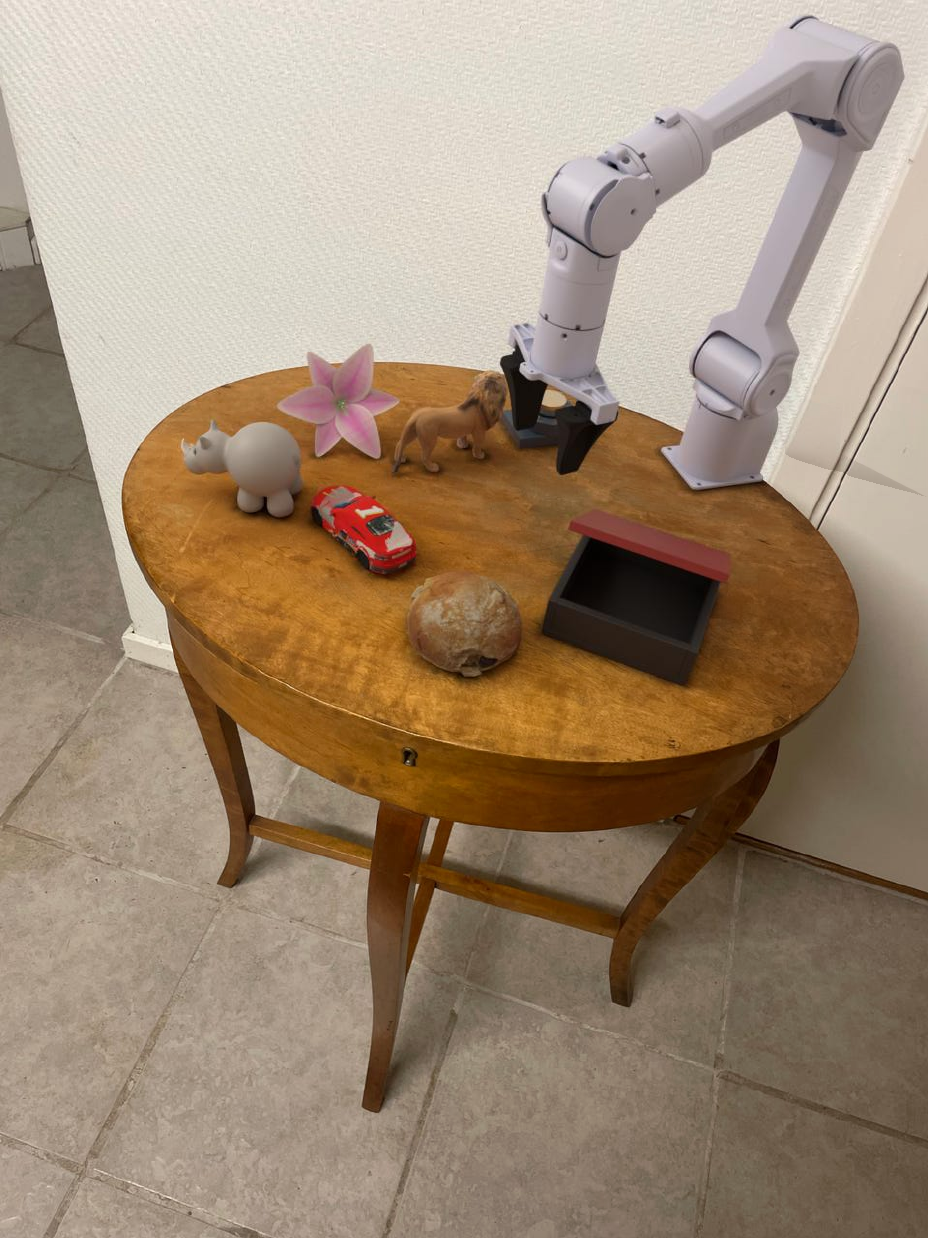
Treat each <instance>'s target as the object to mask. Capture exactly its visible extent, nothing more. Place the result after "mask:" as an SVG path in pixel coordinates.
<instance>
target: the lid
mask: <svg viewBox="0 0 928 1238" xmlns="http://www.w3.org/2000/svg"><path fill="white" fill-rule="evenodd" d="M567 530H568V531H571V532H574V533H577V534H580V535H581V536H582V535H585V536H588V537H591V538H594V539H597V540H600V541H603V542H606V543H609V544H612V545H614V546H617V547H620V548H623V549H626V550H629V551H632V552H635V553H638V554H641V555H644V556H647V557H650V558H653V559H655V560H658V561H661V562H664V563H667V564H670V565H673V566H676V567H679V568H682V569H685V570H688V571H691V572H693V573H696V574H699V575H702V576H705V577H708V578H711V579H714V580H717V581H720V582H721V583H723V584H728V582H729V579H730V576H731V553H729V552H725V551H723V550H720V549H717V548H713V547H711V546H709V545H708V546H707V545H705V544H702V543H698V542H695V541H693V540H689V539H687V538H683V537H681V536H678V535H675V534H672V533H669V532H666V531H663V530H660V529H657V528H655V527H654V528H653V527H651V526H648V525H646V524H643V523H639V522H636V521H633V520H630V519H628V518H627V519H626V518H624V517H621V516H618V515H615V514H613V513H609V512H606V511H603V510H600V509H597V508H593V509H591V510H589V511H588V512H586V513H583V514H582V515H579V516H577V517H576V518H574V519H571V520H570V521H569V525H568V527H567Z"/></svg>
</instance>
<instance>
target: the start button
mask: <svg viewBox="0 0 928 1238" xmlns="http://www.w3.org/2000/svg"><path fill="white" fill-rule="evenodd" d="M567 400H568V399H567V397H566V396H565V395H564V394H563V393H561V392H560V391H557V390H553V389H546V391H545V394H544V397H543V401H542V405H541V409H540V413H539V416H541V417H544V418H549V419H556V416H555V410H556V409H560V408H564V407H565V406H566V401H567Z"/></svg>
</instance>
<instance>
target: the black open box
mask: <svg viewBox="0 0 928 1238" xmlns="http://www.w3.org/2000/svg"><path fill="white" fill-rule="evenodd" d="M721 583H722V582H720V581H717V580H714V579H711V578H708V577H705V576H702V575H699V574H696V573H693V572H691V571H688V570H685V569H682V568H679V567H676V566H673V565H670V564H667V563H664V562H661V561H658V560H655V559H653V558H650V557H647V556H644V555H641V554H638V553H635V552H632V551H629V550H626V549H623V548H620V547H617V546H614V545H612V544H609V543H606V542H603V541H600V540H597V539H594V538H591V537H588V536H585V535H582V534H581V537H580V539H579V541H578V543H577V545H576V546H575V548H574V551H573V552H572V554H571V556H570V558H569V559H568V562H567V564H566V566H565V568H564V569H563V571H562V573H561V575H560V577H559V579H558V581H557V583H556V585H555V587H554V589H553V591H552V592H551V594H550V596H549V598H548V600H547V604H546V609H545V613H544V616H543V617H544V618H543V622H542V625H541V630H540V634H541V635H544V636H547V637H550V638H552V639H554V640H558V641H560V642H563V643H565V644H568V645H571V646H574V647H577V648H579V649H582V650H585V651H587V652H590V653H592V654H596V655H599V656H601V657H604V658H607V659H609V660H611V661H615V662H617V663H620V664H623V665H626V666H628V667H631V668H634V669H636V670H639V671H642V672H644V673H647V674H650V675H652V676H656V677H657V678H661V679H663V680H666V681H669V682H671V683H674V684H677V685H679V686H682V687H685V685H686V683H687V680H688V678H689V676H690V674H691V670H692V668H693V666H694V665H695V664H694V663H695V661H696V659H697V657H698V655H699V651H700V648H701V645H702V641H703V639H704V636H705V632H706V629H707V626H708V622H709V620H710V618H711V614H712V611H713V607H714V605H715V602H716V598H717V595H718V592H719V589H720V586H721Z"/></svg>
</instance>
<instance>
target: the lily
mask: <svg viewBox="0 0 928 1238" xmlns="http://www.w3.org/2000/svg"><path fill="white" fill-rule="evenodd" d="M306 361H307V367H308V371H309V376H310V379H311V382H312V385H310V386H309V385H308V386H307V387H304V388H302V389H300V390H298V391H296V392H294V393H292V394H291V395H288V396H287V397H285V398H282V399H281V400H280V401H279V402H278V403H277V405H276V408H277V409H278V411H281V412H282V413H284V414H287V415H289V416H290V417H294V418H296V419H298V420H302V421H305V422H306V423H307V422H308V423H311V424H316V425H315V433H314V453H315V456H316V458H320V457H322V456H323V455H325V454H326V453H327V452H328V451H330V450H331V449H332V448H333V447H334V446H336V444H338V443H339V441H340V440H341V439H342V438H343V439H344V440H345V441H347V443H349V444H351V445H352V446H353V447H355V448H356V449H358V450H360V451H361V452H362V453H364V454H366V455H367V456H369V457H371V458H373V459H380V457H381V454H382V452H381V451H382V449H381V441H380V436H379V431H378V427H377V422H376V420H375V417H376V416H378V415H380V414H383V413H385V412H386V411H389V410H391V409H392V408H394V407H395V406H397V405H398V404H399V403H400V401H401V400H400V398H398V397H397V396H395V395H393V394H392V393H391V394H390V393H388V392H385V391H383V390H380V389H378V388H373V387H372V386H373V382H374V366H375V352H374V346H373V344H372V343H366V344H364V345H362V346H361V347H360V348H359V349H357V350H356V351H355V352H354V353H352V355H350V356H349V357H348V358H346V360H344V362H342V363H341V364H340V365H339V367H338V368H336V367H334V366H333V365H332V363H330V362H329V361H327V360H325V359H324V358H323V357H321V356H319V355H318V354H316V353H314V352H312V351H307V353H306Z"/></svg>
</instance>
